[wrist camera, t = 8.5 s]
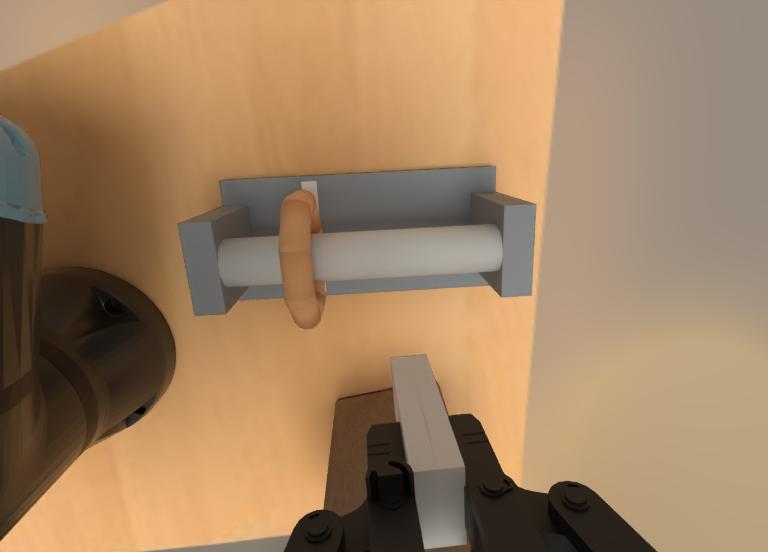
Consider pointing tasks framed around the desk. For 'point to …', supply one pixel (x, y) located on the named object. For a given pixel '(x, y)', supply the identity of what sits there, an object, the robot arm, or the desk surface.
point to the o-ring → (300, 258)
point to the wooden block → (359, 453)
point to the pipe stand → (364, 236)
